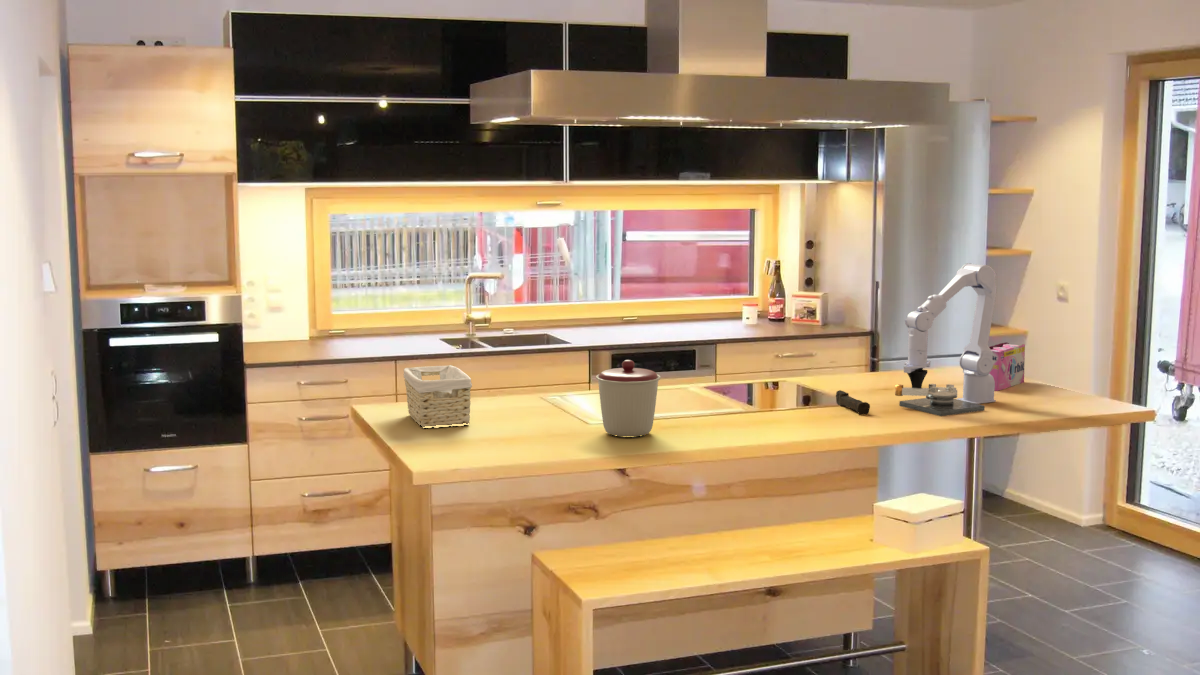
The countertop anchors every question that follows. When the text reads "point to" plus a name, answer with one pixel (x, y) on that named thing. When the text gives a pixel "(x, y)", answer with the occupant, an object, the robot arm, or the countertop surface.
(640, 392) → the canister
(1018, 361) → the gum box
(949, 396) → the grey mechanical part
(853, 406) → the hand tool
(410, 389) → the storage basket
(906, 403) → the plate
